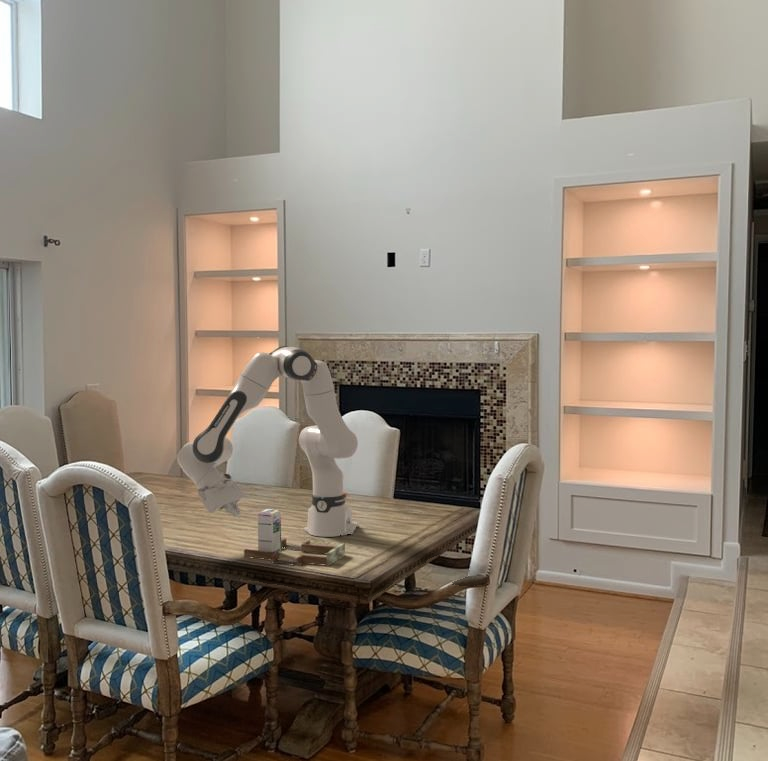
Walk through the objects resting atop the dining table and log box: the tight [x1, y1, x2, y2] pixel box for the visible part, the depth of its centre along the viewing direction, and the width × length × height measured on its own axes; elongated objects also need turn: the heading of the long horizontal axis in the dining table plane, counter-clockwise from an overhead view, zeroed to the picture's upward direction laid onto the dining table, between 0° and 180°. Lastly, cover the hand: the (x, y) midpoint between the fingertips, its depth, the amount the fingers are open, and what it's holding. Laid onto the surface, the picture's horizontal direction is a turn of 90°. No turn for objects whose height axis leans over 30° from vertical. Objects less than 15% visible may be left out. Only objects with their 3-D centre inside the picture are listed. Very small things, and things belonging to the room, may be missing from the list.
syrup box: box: [256, 508, 282, 554], centre depth 268 cm, size 6×6×14 cm
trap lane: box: [243, 537, 346, 566], centre depth 266 cm, size 20×30×4 cm
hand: (238, 515), depth 271 cm, fingers closed
